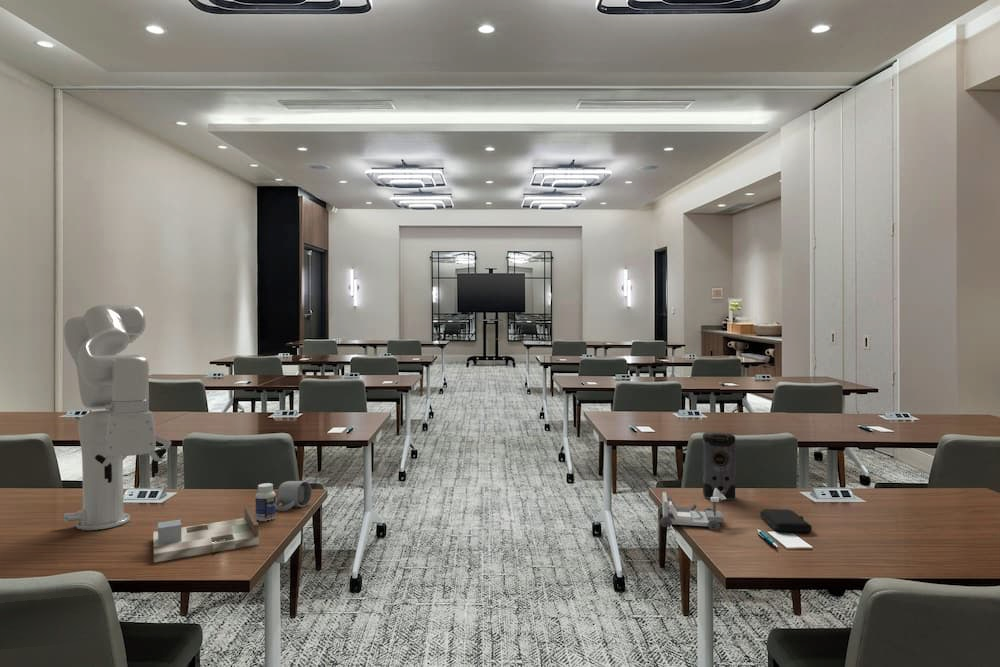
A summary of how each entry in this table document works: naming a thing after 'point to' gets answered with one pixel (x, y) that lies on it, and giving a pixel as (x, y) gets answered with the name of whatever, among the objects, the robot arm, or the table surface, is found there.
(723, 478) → the electronic device
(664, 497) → the toy car
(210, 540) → the board
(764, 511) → the carrying case or bag
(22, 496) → the table surface
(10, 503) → the table surface
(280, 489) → the ceramic mug
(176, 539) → the block
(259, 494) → the pill bottle
